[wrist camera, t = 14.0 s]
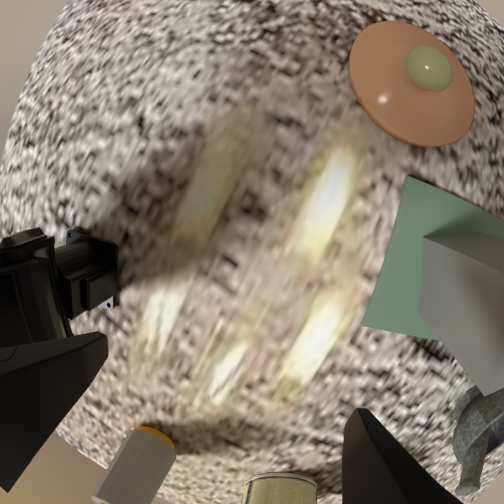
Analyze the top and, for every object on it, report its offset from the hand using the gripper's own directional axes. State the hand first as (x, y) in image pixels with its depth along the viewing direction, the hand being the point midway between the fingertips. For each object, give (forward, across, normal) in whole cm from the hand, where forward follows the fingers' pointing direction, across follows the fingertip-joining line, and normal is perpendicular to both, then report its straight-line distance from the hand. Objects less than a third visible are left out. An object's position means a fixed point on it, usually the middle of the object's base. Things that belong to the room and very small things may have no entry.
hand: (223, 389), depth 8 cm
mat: (+13, -15, -4) cm, 20 cm away
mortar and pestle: (+13, -28, +10) cm, 33 cm away
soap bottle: (+13, +8, +26) cm, 30 cm away
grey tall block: (+13, -15, -4) cm, 20 cm away
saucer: (+13, -8, -18) cm, 24 cm away
